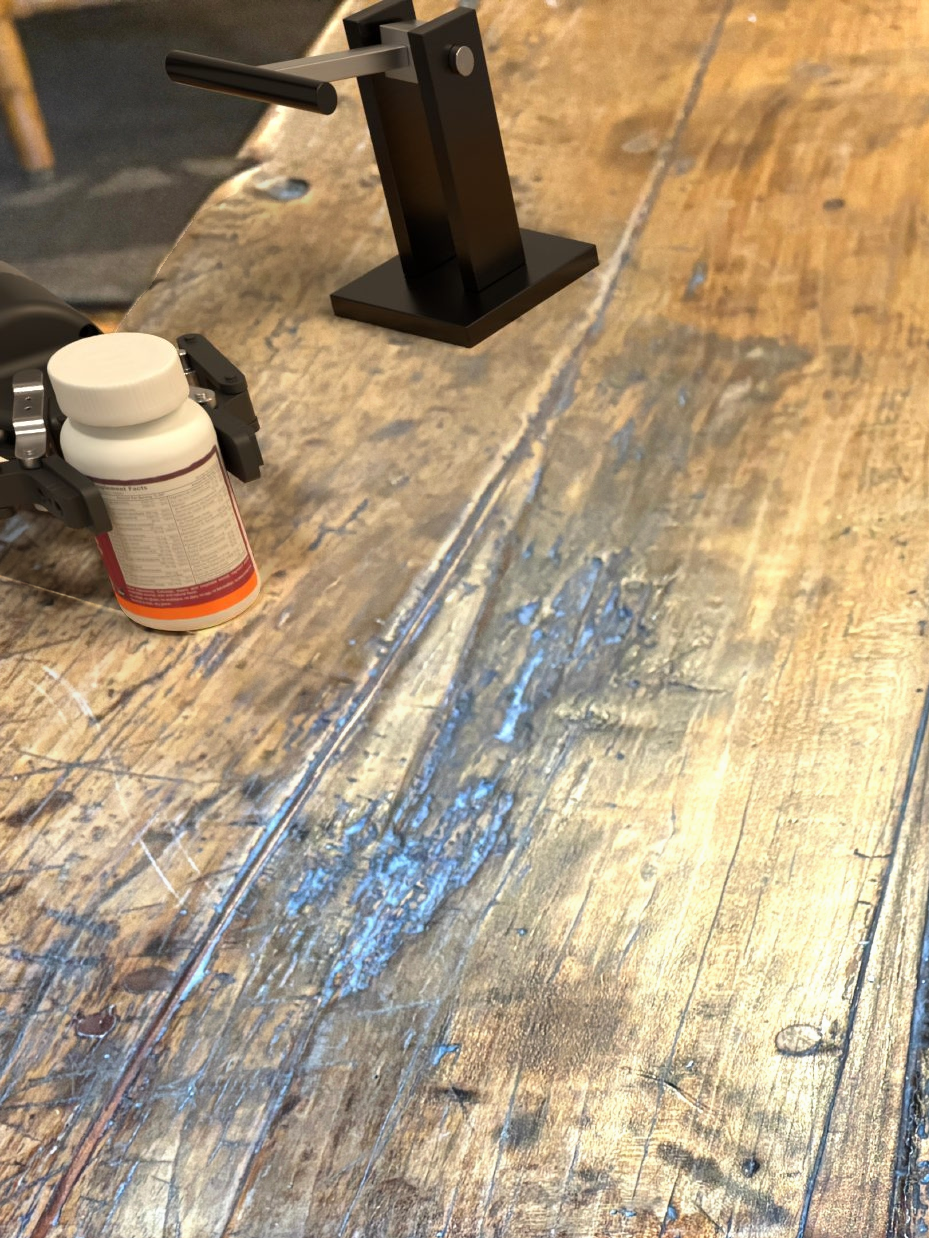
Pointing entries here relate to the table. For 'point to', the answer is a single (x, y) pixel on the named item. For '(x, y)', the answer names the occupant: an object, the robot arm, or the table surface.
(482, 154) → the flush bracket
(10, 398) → the robot arm
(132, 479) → the pill bottle
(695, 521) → the table surface
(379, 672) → the table surface
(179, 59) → the flush lever
